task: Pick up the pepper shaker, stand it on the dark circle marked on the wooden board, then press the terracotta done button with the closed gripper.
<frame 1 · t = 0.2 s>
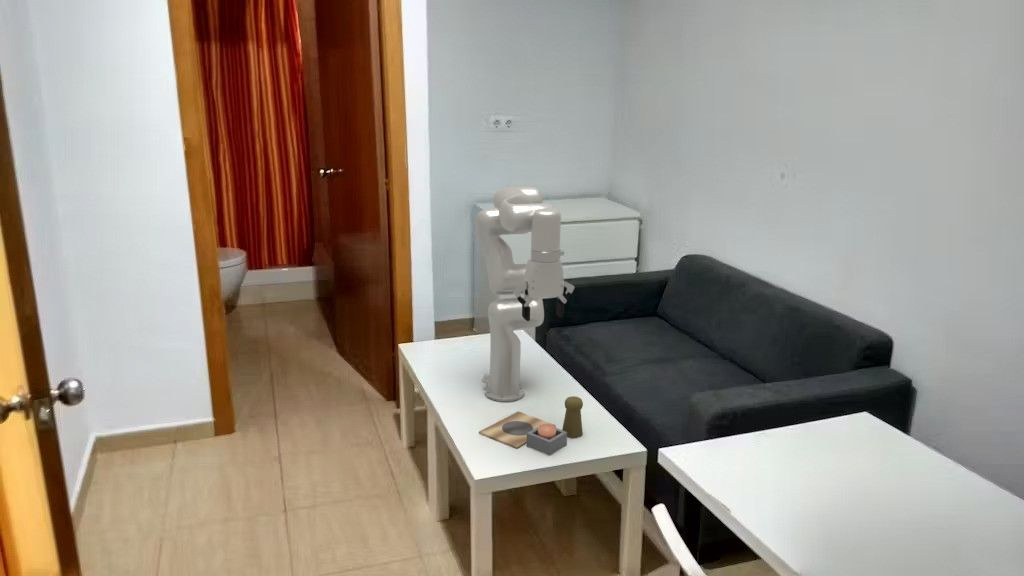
hand: (543, 317, 210), 36 cm above the table, tool pointing down, fingers open, 9 cm apart
button housing: (546, 445, 218), on the table
pepper shaker: (572, 434, 225), on the table
done button: (547, 432, 217), point 4 cm above the table, slide at 0.0 cm
wooden board: (517, 430, 227), on the table
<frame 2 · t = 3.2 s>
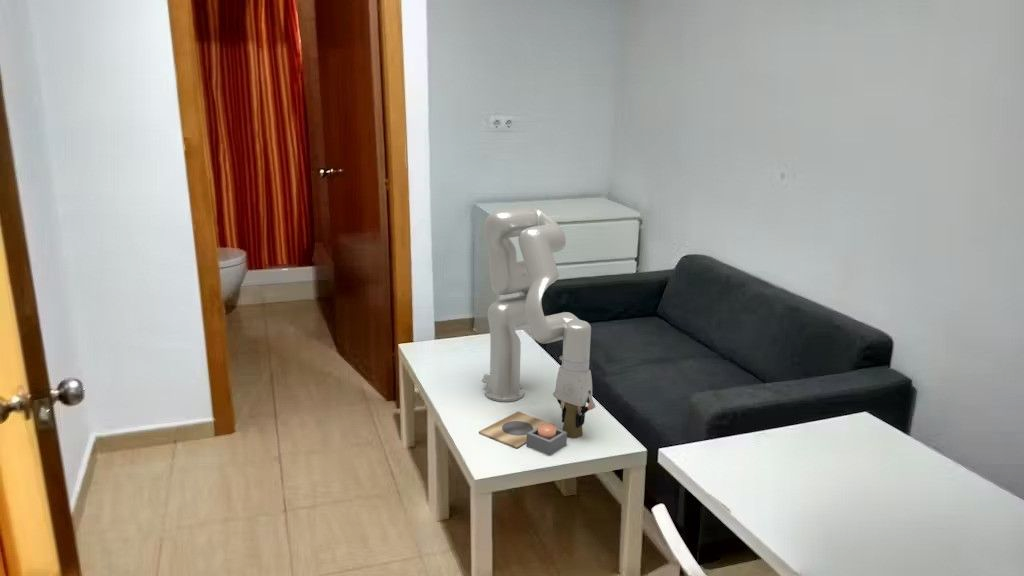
hand: (572, 422, 224), 3 cm above the table, tool pointing down, fingers closed on pepper shaker, 4 cm apart
pepper shaker: (572, 434, 225), on the table, touching gripper
everything else where it was.
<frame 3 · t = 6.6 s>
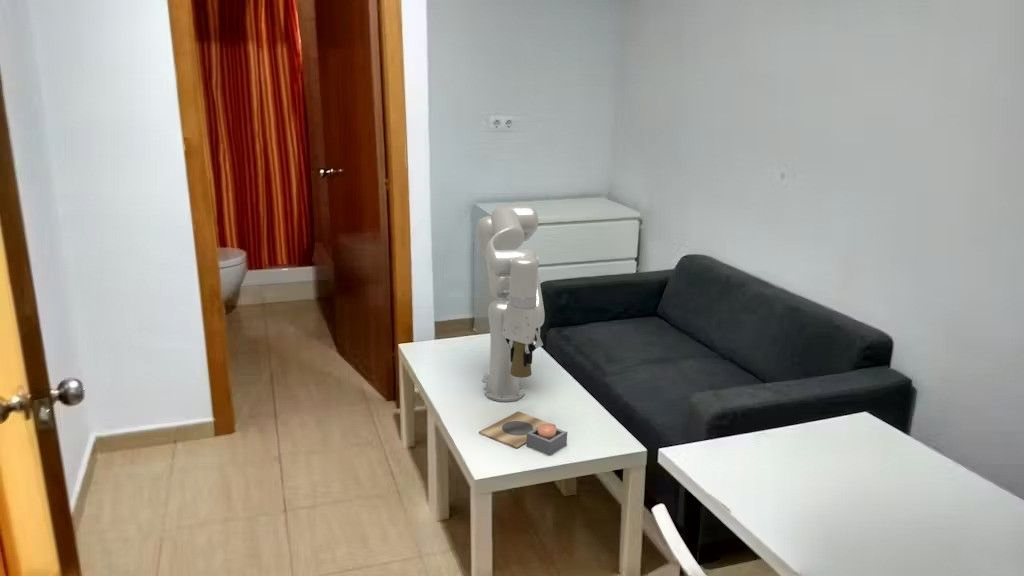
hand: (521, 362, 221), 21 cm above the table, tool pointing down, fingers closed on pepper shaker, 3 cm apart
pepper shaker: (520, 373, 222), point 17 cm above the table, touching gripper
everything else where it was.
when the fingers open (5 cm above the table, at t = 10.1 s): pepper shaker drops 1 cm, resting on wooden board.
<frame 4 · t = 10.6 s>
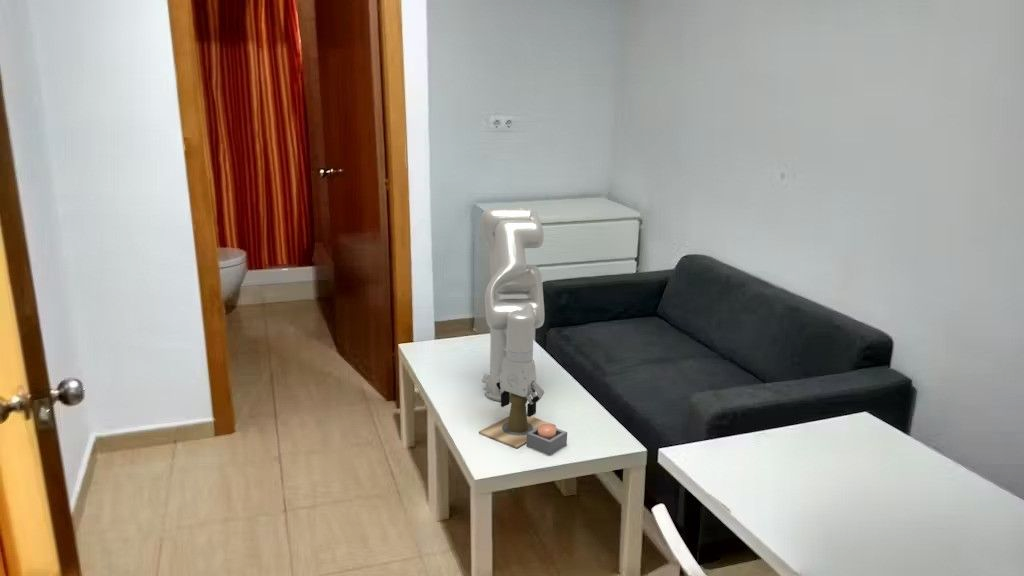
hand: (518, 410, 225), 6 cm above the table, tool pointing down, fingers open, 9 cm apart
pepper shaker: (517, 428, 226), point 1 cm above the table, touching wooden board
everything else where it was.
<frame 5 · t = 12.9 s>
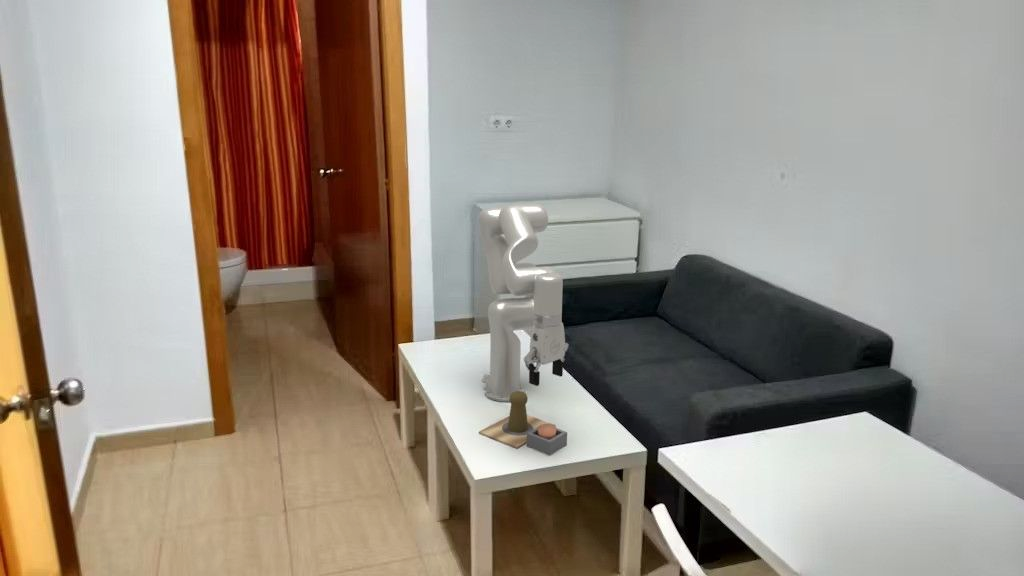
hand: (545, 379, 213), 20 cm above the table, tool pointing down, fingers open, 9 cm apart
nothing on the table moved.
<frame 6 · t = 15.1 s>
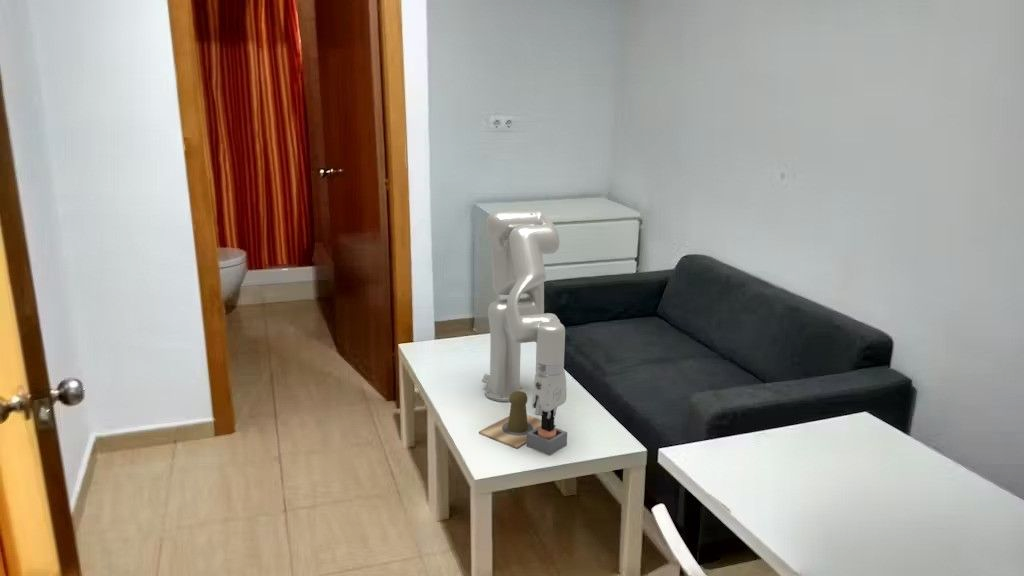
hand: (547, 429, 216), 5 cm above the table, tool pointing down, fingers closed
done button: (547, 433, 217), point 4 cm above the table, slide at 0.4 cm, touching gripper
everything else where it was.
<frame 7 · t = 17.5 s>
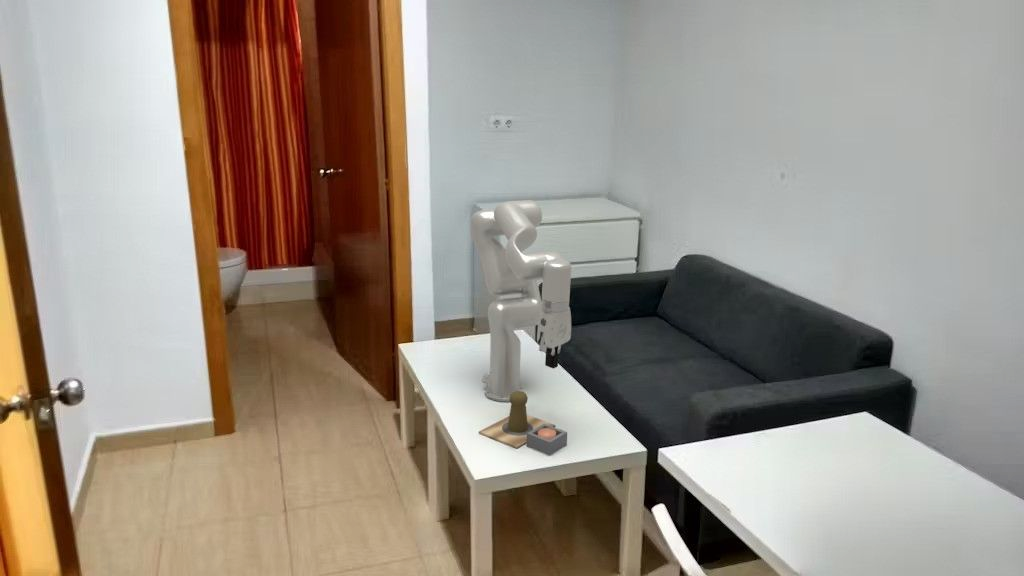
hand: (551, 366, 218), 21 cm above the table, tool pointing down, fingers closed
done button: (546, 437, 217), point 3 cm above the table, slide at 1.3 cm
everything else where it was.
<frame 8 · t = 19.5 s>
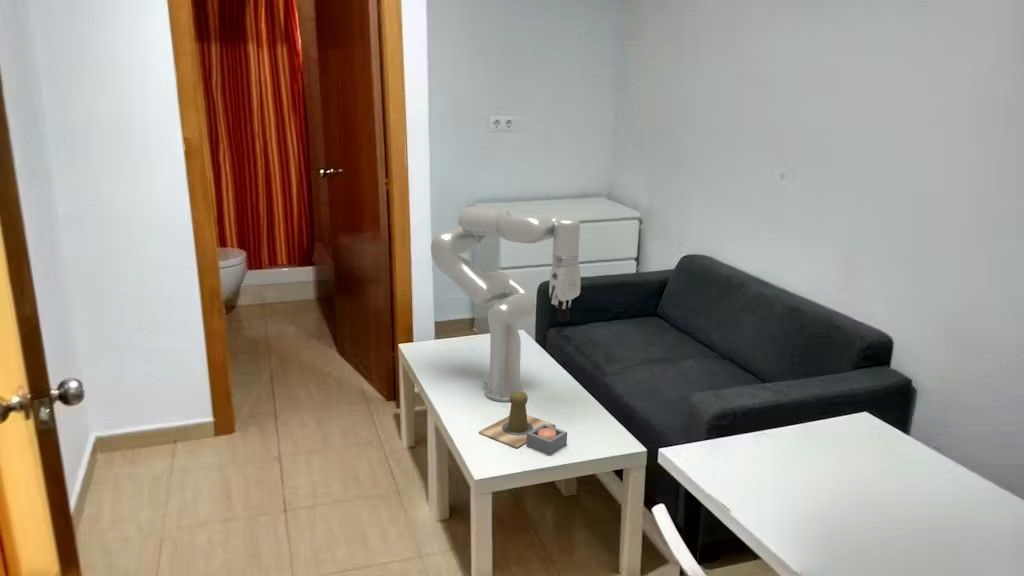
hand: (562, 320, 232), 29 cm above the table, tool pointing down, fingers closed
nothing on the table moved.
at the end: pepper shaker 0.1 cm off-centre on the wooden board, point 0.5 cm above the wooden board's base; pepper shaker tilted 0°; done button slide at 1.3 cm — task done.
